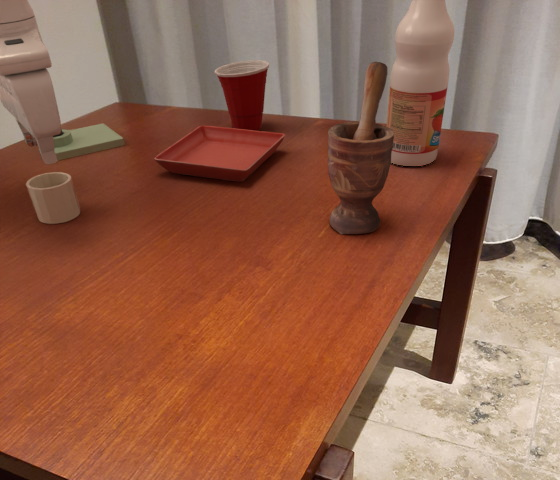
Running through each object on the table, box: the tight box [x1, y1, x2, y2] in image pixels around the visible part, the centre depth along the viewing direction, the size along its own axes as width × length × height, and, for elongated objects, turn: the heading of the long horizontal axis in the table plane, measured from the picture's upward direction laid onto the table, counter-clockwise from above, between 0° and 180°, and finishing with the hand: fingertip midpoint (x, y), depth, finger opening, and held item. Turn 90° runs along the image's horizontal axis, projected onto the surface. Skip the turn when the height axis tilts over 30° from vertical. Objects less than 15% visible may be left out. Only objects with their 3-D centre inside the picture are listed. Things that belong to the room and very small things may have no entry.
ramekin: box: [25, 171, 81, 225], centre depth 85 cm, size 6×6×6 cm
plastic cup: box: [214, 59, 270, 131], centre depth 111 cm, size 11×11×12 cm
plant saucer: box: [153, 125, 286, 183], centre depth 100 cm, size 18×18×3 cm
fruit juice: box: [385, 0, 455, 167], centre depth 90 cm, size 9×9×28 cm
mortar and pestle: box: [327, 61, 394, 235], centre depth 76 cm, size 12×9×20 cm
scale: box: [53, 122, 126, 162], centre depth 110 cm, size 14×12×3 cm
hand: (41, 153), depth 81 cm, fingers open, 8 cm apart
